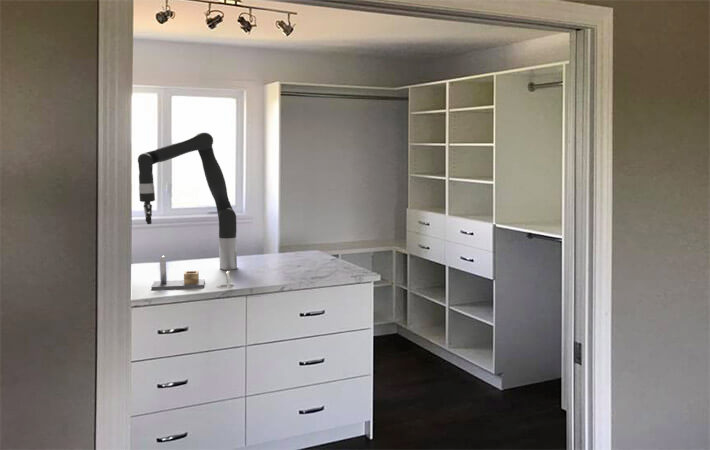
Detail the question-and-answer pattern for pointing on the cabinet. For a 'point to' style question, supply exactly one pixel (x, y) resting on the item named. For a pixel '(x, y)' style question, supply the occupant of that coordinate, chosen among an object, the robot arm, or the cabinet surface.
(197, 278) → the oak bead
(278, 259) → the cabinet surface
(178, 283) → the lacing board
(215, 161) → the robot arm
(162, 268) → the steel needle
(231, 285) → the stand
